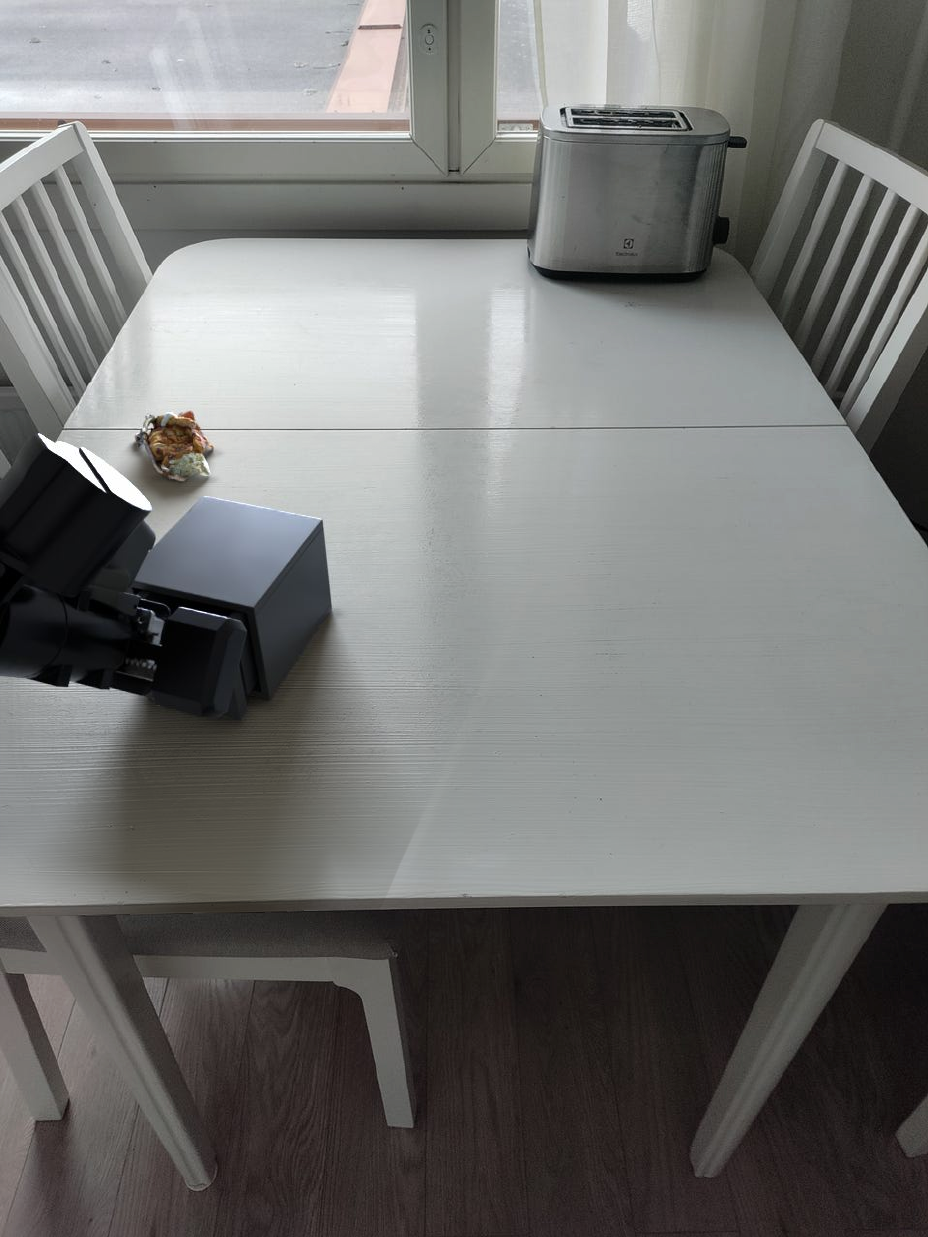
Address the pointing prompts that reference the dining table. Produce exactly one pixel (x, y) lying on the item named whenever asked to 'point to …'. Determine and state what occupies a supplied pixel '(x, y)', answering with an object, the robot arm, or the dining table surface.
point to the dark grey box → (248, 576)
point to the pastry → (175, 445)
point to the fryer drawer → (247, 665)
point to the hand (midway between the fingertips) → (167, 648)
